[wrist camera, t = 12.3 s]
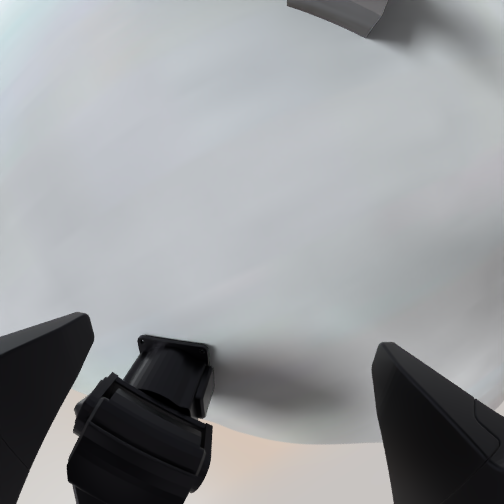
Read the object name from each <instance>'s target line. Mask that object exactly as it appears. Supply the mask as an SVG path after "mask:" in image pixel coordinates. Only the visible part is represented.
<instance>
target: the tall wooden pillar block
mask: <svg viewBox="0 0 504 504" xmlns="http://www.w3.org/2000/svg"><path fill="white" fill-rule="evenodd" d="M387 2H388V0H287V6H289V7H292V8H295V9H298V10H301V11H304V12H306V13H309V14H312V15H314V16H317V17H319V18H322V19H324V20H327V21H329V22H332V23H334V24H336V25H339V26H341V27H343V28H345V29H347V30H350V31H352V32H354V33H356V34H358V35H360V36H362V37H364V38H366V37H367V35H368V34H369V33H370V31H371V30H372V29H373V27H374V26H375V24H376V23H377V22H378V20H379V19H380V18H381V16H382V14H383V12H384V9H385V7H386V4H387Z"/></svg>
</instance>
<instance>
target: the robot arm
mask: <svg viewBox="0 0 504 504" xmlns="http://www.w3.org/2000/svg"><path fill="white" fill-rule="evenodd" d="M142 340H143V341H144V342H143V341H142ZM93 342H94V332H93V329H92V325H91V321H90V317H89V316H88V315H87V314H85V313H81V312H75V313H72V314H69V315H66V316H63V317H60V318H57V319H54V320H51V321H48V322H45V323H42V324H38V325H35V326H32V327H29V328H26V329H23V330H20V331H17V332H14V333H11V334H8V335H5V336H1V337H0V504H16V503H17V500H18V498H19V495H20V493H21V490H22V488H23V485H24V483H25V480H26V478H27V476H28V473H29V470H30V468H31V466H32V464H33V462H34V459H35V457H36V455H37V453H38V451H39V449H40V447H41V445H42V442H43V440H44V438H45V436H46V434H47V432H48V430H49V428H50V426H51V424H52V422H53V420H54V418H55V417H56V415H57V413H58V411H59V409H60V407H61V405H62V403H63V402H64V400H65V398H66V396H67V394H68V393H69V391H70V389H71V387H72V385H73V384H74V382H75V380H76V378H77V376H78V374H79V372H80V370H81V368H82V366H83V363H84V361H85V359H86V357H87V355H88V353H89V350H90V348H91V346H92V344H93ZM138 346H139V351H140V355H139V356H138V358H137V359H136V361H135V362H134V364H133V365H132V367H131V368H130V370H129V371H128V373H127V374H126V376H125V377H124V379H123V380H122V379H121V378H119V377H118V375H116V374H115V373H113V372H112V373H111V374H110V375H109V376H108V378H107V377H105V378H104V379H103V380H101V381H100V382H99V383H98V385H97V386H96V388H95V389H94V390H93V391H92V393H91V394H89V395H88V396H87V397H85V398H84V399H83V400H81V401H80V402H79V403H77V405H76V406H75V408H74V411H75V415H76V420H75V425H74V429H73V433H75V434H76V435H78V436H79V438H78V440H77V442H76V444H75V446H74V448H73V450H72V452H71V454H70V456H69V459H68V464H67V476H68V481H69V483H71V484H72V485H73V490H74V494H75V499H76V504H183V503H184V501H185V499H186V497H187V496H188V494H189V492H190V493H193V492H195V491H196V490H197V489H198V488H199V486H200V485H201V484H202V482H203V480H204V478H205V476H206V474H207V471H208V469H209V465H210V461H211V447H212V446H211V445H212V428H213V426H212V425H209V424H207V423H206V424H204V423H202V422H200V421H198V418H200V419H203V418H205V417H206V413H207V410H208V407H209V403H210V400H211V396H212V393H213V389H214V376H213V368H212V367H211V366H209V353H208V347H207V346H206V345H203V344H197V343H189V342H182V341H175V340H169V339H162V338H156V337H150V336H145V335H141V336H140V337H139V338H138ZM200 349H202V350H204V351H201V350H200ZM372 378H373V385H374V394H375V402H376V411H377V417H378V421H379V426H380V430H381V435H382V440H383V445H384V449H385V454H386V460H387V465H388V470H389V476H390V482H391V488H392V494H393V501H394V504H504V417H503V416H501V415H500V414H498V413H496V412H495V411H493V410H492V409H490V408H489V407H487V406H486V405H484V404H483V403H481V402H480V401H479V400H477V399H474V397H473V396H471V395H470V394H468V393H467V392H465V391H464V390H462V389H461V388H460V387H458V386H457V385H455V384H454V383H452V382H451V381H449V380H448V379H446V378H445V377H443V376H442V375H441V374H439V373H438V372H436V371H435V370H433V369H432V368H430V367H429V366H427V365H426V364H424V363H423V362H422V361H420V360H419V359H417V358H416V357H414V356H413V355H411V354H410V353H408V352H407V351H405V350H404V349H402V348H401V347H400V346H398V345H397V344H395V343H393V342H382V343H380V344H379V346H378V348H377V351H376V354H375V358H374V361H373V364H372Z"/></svg>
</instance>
